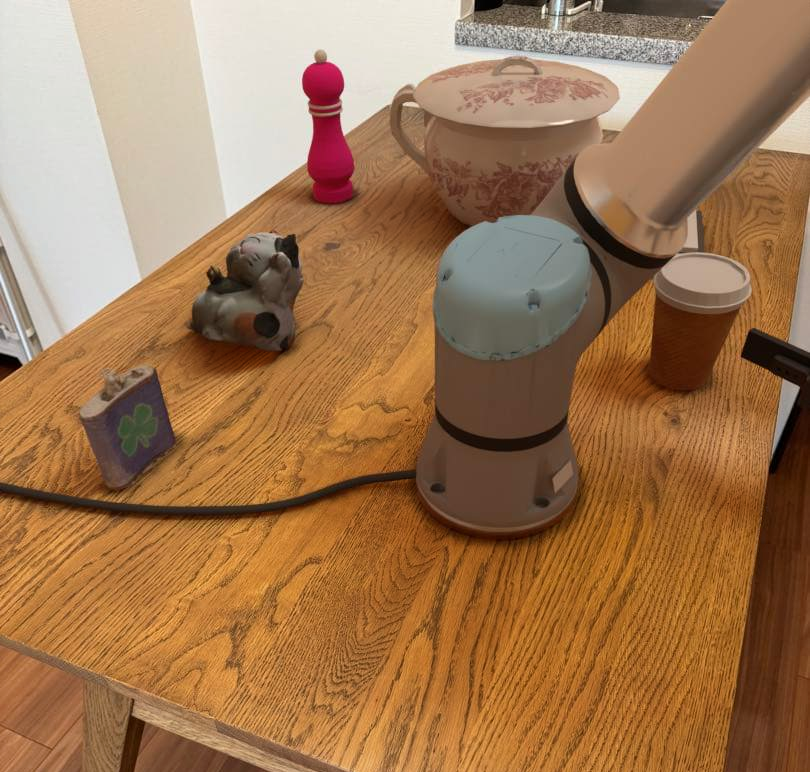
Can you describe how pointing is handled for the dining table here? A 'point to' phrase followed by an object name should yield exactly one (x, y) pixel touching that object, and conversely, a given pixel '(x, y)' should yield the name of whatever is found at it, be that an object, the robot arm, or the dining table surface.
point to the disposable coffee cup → (694, 316)
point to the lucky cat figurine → (252, 294)
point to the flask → (128, 425)
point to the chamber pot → (503, 131)
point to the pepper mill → (327, 132)
